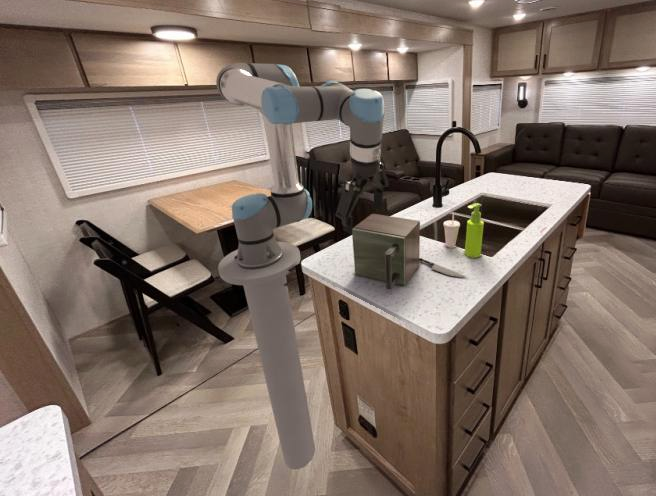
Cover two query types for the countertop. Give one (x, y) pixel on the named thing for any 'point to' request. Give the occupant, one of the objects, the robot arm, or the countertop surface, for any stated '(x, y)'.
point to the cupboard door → (379, 256)
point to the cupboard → (398, 228)
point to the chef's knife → (442, 269)
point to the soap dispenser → (474, 233)
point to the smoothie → (451, 232)
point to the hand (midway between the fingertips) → (363, 219)
